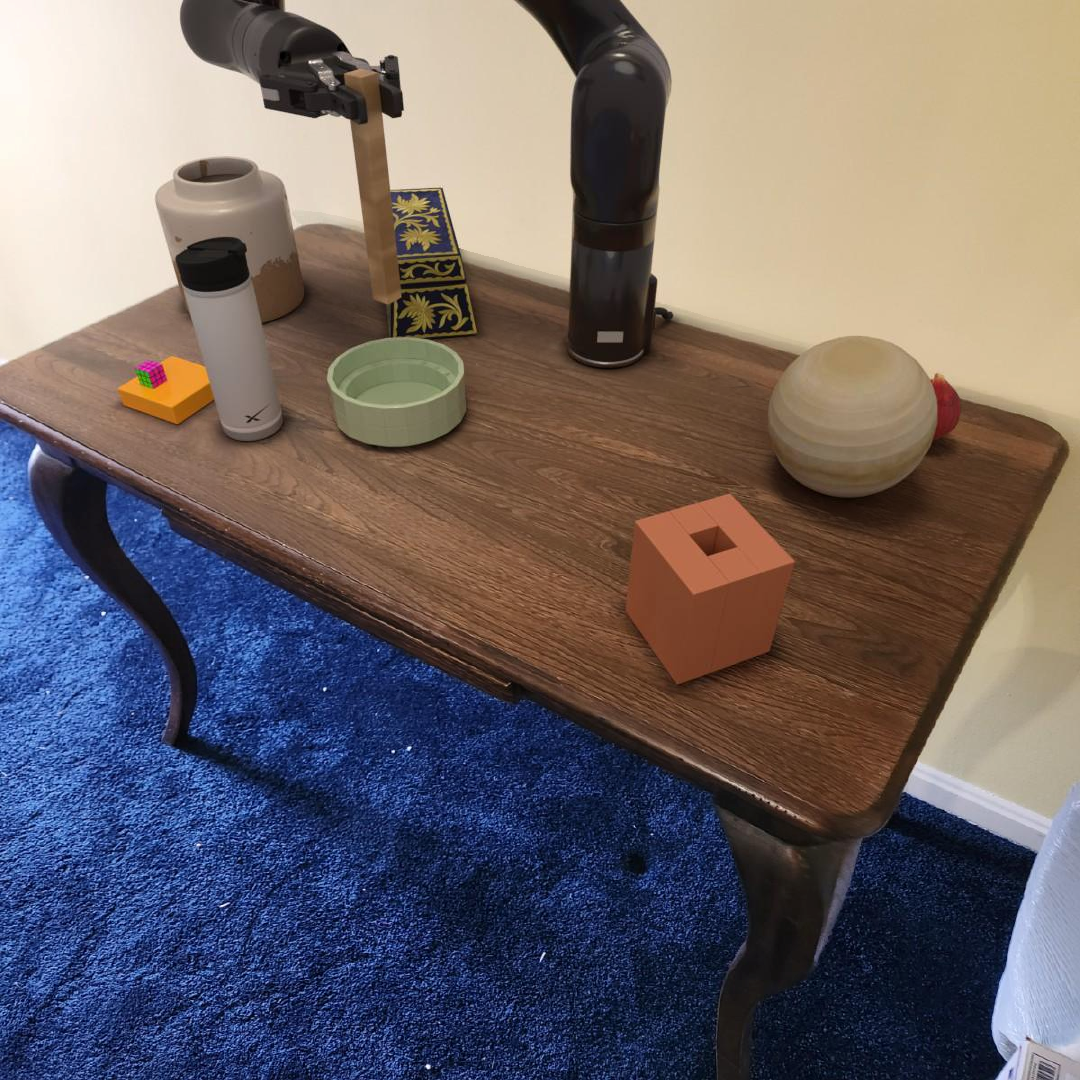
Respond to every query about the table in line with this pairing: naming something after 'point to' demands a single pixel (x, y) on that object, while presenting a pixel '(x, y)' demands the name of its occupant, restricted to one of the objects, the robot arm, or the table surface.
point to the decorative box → (428, 269)
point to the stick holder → (706, 586)
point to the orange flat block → (168, 389)
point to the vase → (236, 224)
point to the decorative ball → (852, 416)
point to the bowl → (397, 391)
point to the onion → (945, 406)
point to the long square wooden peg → (375, 189)
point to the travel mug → (231, 336)
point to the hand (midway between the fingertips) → (380, 107)
